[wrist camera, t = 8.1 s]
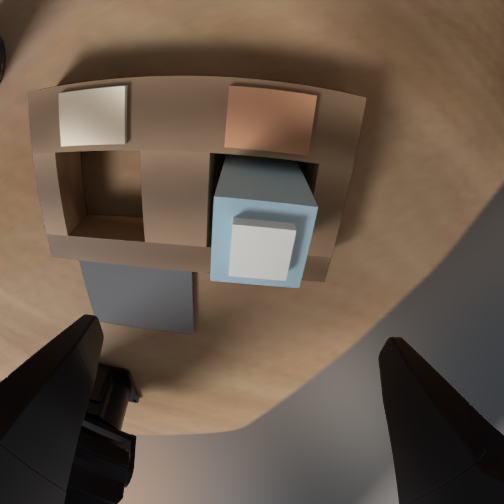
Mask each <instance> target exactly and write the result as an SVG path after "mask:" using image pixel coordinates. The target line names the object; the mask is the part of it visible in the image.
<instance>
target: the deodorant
mask: <svg viewBox="0 0 504 504" xmlns="http://www.w3.org/2000/svg"><path fill="white" fill-rule="evenodd" d="M4 67H5V47H4V43H3V41H2V39H1V37H0V81H1V79H2V75H3V72H4Z"/></svg>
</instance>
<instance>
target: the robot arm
mask: <svg viewBox="0 0 504 504" xmlns="http://www.w3.org/2000/svg"><path fill="white" fill-rule="evenodd" d="M103 339H104V336H103V332H102V329H101V325H100V322H99V319H98V317H97V316H94V315H88V314H86V315H83V316H82V317H81V318H79V319H78V320H77V321H75V322H74V323H73V324H72V325H70V326H69V327H68V328H66V329H65V330H64V331H63V332H61V333H60V334H59V335H57V336H56V337H55V338H54V339H52V340H51V341H50V342H49V343H47V344H46V345H45V346H44V347H42V348H41V349H40V350H39V351H37V352H36V353H35V354H34V355H33V356H31V357H30V358H29V359H28V360H26V361H25V362H24V363H23V364H22V365H20V366H19V367H18V368H17V369H16V370H14V371H13V372H12V373H11V374H10V375H8V378H7V377H6V378H5V379H4V380H2V381H1V382H0V504H118V503H119V502H120V500H121V499H122V498H123V492H124V487H127V485H128V484H129V482H130V479H131V477H132V474H133V469H134V459H135V446H136V445H135V444H136V436H135V435H132V434H131V435H130V434H127V433H125V432H123V431H121V428H122V424H123V420H124V416H125V412H126V409H127V405H128V401H130V402H135V403H138V401H139V397H138V395H137V392H136V389H135V386H134V384H133V381H132V378H131V375H130V373H129V371H127V370H125V369H119V368H114V367H109V366H104V365H99V364H98V363H99V358H100V353H101V349H102V345H103ZM379 368H380V376H381V387H382V396H383V404H384V409H385V414H386V419H387V424H388V430H389V435H390V441H391V447H392V453H393V460H394V467H395V474H396V480H397V489H398V497H399V504H504V435H503V434H501V433H500V432H499V431H498V430H496V428H494V427H493V426H492V425H491V424H490V423H489V422H488V421H487V420H486V419H484V418H483V416H482V415H480V414H479V413H478V412H477V411H476V410H475V409H474V408H473V407H472V406H471V405H469V403H468V402H467V401H466V400H465V399H464V398H463V397H462V396H461V395H460V394H459V393H458V392H457V391H456V390H455V389H454V388H453V387H452V386H451V385H450V384H449V383H448V382H447V381H446V380H445V379H444V378H443V377H442V376H441V375H440V374H439V373H438V372H437V371H436V370H435V369H434V368H433V367H432V366H431V365H430V364H429V363H428V362H427V361H426V360H425V359H423V357H422V356H420V355H419V354H418V353H417V352H416V351H415V350H414V349H413V348H412V347H411V346H410V345H409V344H408V343H407V342H406V341H405V340H404V339H402V338H401V337H390V338H388V340H387V341H386V343H385V345H384V346H383V348H382V350H381V352H380V354H379Z"/></svg>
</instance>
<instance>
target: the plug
mask: <svg viewBox="0 0 504 504" xmlns="http://www.w3.org/2000/svg"><path fill="white" fill-rule="evenodd" d="M317 210H318V206H317V203H316V201H315V199H314V197H313V195H312V192H311V190H310V188H309V186H308V184H307V182H306V179H305V177H304V175H303V173H302V171H301V169H300V167H299V165H298V163H297V161H294V160H286V159H277V158H268V157H258V156H247V155H235V154H227V155H226V158H225V161H224V165H223V168H222V171H221V174H220V178H219V181H218V184H217V188H216V191H215V195H214V204H213V223H212V244H211V270H210V281H219V282H230V283H241V284H253V285H265V286H278V287H291V288H299V287H300V283H301V279H302V275H303V271H304V267H305V263H306V259H307V254H308V250H309V246H310V242H311V237H312V233H313V228H314V224H315V219H316V215H317Z"/></svg>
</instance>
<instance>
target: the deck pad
mask: <svg viewBox="0 0 504 504" xmlns="http://www.w3.org/2000/svg"><path fill="white" fill-rule="evenodd" d="M79 261H80V265H81V269H82V273H83V277H84V281H85V285H86V288H87V292H88V296H89V299H90V302H91V306H92V309H93V312H94V316H97V317H98V319H99V322H104V323H110V324H117V325H123V326H130V327H137V328H144V329H151V330H159V331H167V332H175V333H184V334H194V306H193V272H191V271H180V270H169V269H158V268H148V267H138V266H128V265H118V264H109V263H99V262H90V261H81V260H79Z"/></svg>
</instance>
